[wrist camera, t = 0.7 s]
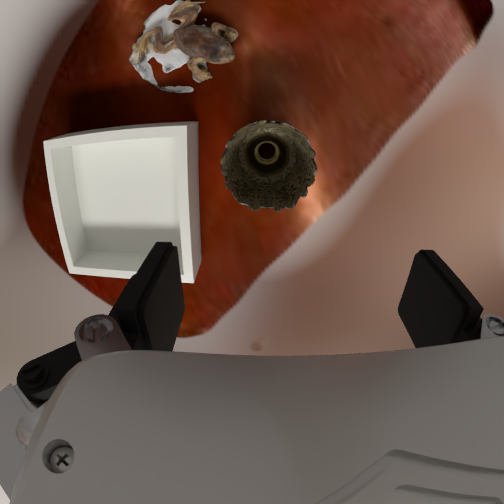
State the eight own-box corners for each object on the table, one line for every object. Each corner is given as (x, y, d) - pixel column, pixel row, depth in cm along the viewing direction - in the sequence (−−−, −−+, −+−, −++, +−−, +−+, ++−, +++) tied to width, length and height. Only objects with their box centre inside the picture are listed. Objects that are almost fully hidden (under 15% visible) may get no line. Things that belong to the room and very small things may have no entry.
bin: (68, 133, 28) (43, 141, 23) (198, 121, 28) (186, 125, 23) (87, 253, 35) (69, 273, 31) (201, 259, 35) (193, 283, 31)
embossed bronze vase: (226, 181, 31) (216, 207, 24) (233, 112, 27) (224, 115, 20) (297, 189, 31) (308, 218, 24) (308, 121, 27) (325, 129, 20)
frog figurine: (269, 17, 22) (270, 6, 19) (212, 112, 28) (206, 114, 24) (172, -18, 20) (161, -30, 17) (120, 74, 25) (104, 72, 22)
